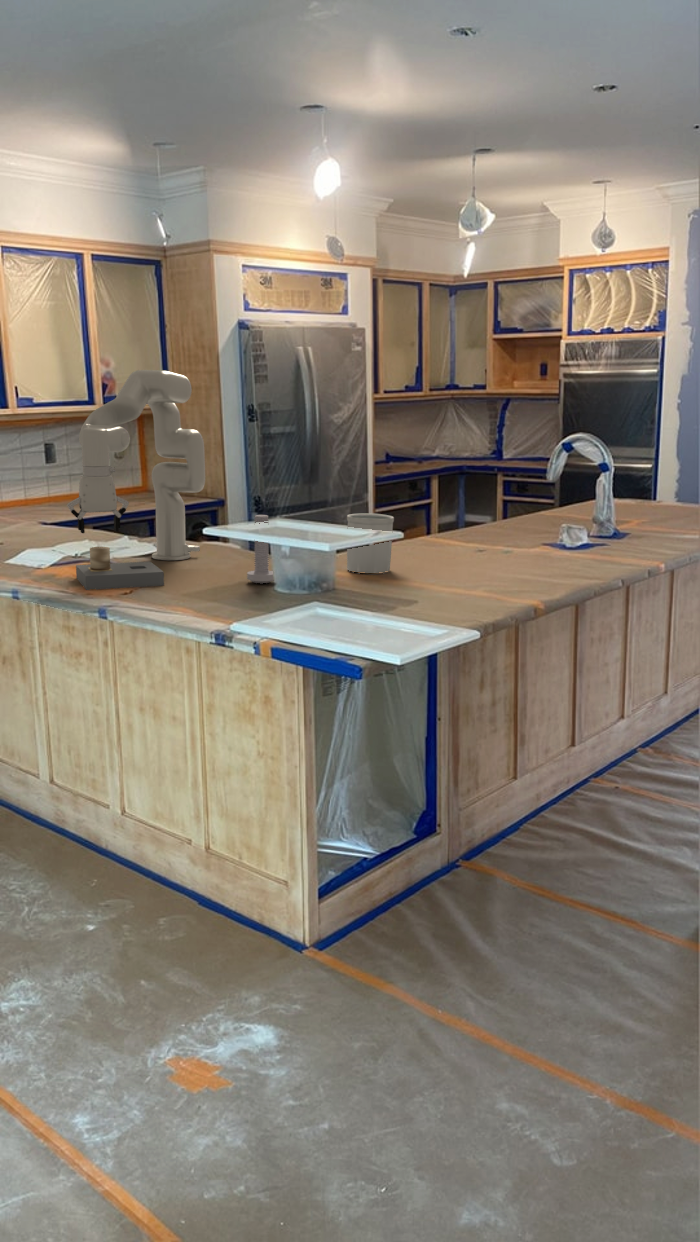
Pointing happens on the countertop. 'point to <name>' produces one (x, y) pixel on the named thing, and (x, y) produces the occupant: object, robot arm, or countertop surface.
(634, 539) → the countertop surface
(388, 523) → the utensil holder
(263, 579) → the screw
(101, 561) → the peg
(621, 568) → the countertop surface
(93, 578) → the seat block
